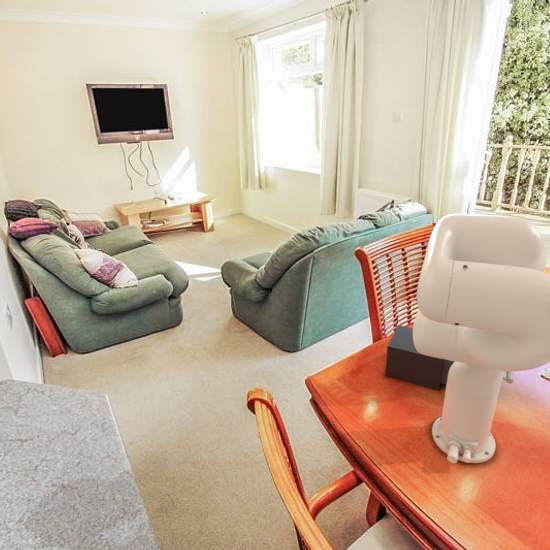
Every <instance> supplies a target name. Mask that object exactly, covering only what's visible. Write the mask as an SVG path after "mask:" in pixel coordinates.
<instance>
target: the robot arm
mask: <svg viewBox="0 0 550 550" xmlns="http://www.w3.org/2000/svg"><path fill="white" fill-rule="evenodd" d="M544 241H545V240H544V236H543V234H542V232H541V231H540V229H539V228H538V227H537V226H536V225H535V224H533V223H532V222H531V221H529V220H527V219H524V218H521V217H516V216H511V215H508V216H507V215H495V214H494V215H493V214H491V215H490V214H471V213H470V214H469V213H451V214H447V215H445V216H443V217H441V219H440V220H439V221H438V222H437V223H436V225H435V226H434V228H433V230H432V232H431V234H430V236H429V239H428V242H427V246H426V249H425V255H424V258H423V263H422V267H421V270H420V275H419V279H418V283H417V290H416V303H417V308H418V310H417V312H416V313H415V317H414V321H413V325H412V328H413V342H414V346H415V348H416V350H417V351H418V352H419V353H420V354H423V355H427V356H431V357H436V358H441V359H446V360H451V361H455V362H454V363H453V364H452V366H451V367H450V369H449V372H448V378H447V385H445V392H444V398H443V406H442V410H441V411H442V412H441V416H440V417H438V418H437V419H436V420H434V422H433V424H432V426H431V436H432V439H433V441H434V443H435V444H436V446H437V447H438V448H439V449H440V450H441V451H442V452H443V453H445V454H446V455H447V456H446V460H447V461H448V463H450V464H454V465H455V464H457V463H458V461H460V462H463V463H466V464H480V463H485V462H487V461H489V460H490V459H491V458H492V457H493V456H494V454H495V452H496V447H497V445H496V440H495V437H494V436H493V434H492V433H491V429H492V425H493V421H494V417H495V413H496V408H497V404H498V400H499V395H500V391H501V386H502V383H503V380H502V379H503V377H504V375H505V372H506V371H513V372H524V371H530V370H533V369H538V368H540V367H543V366H545V365H547V364H549V363H550V273H549V272H545V268H546V264H547V254H546V248H545V242H544Z"/></svg>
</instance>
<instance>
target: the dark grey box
mask: <svg viewBox="0 0 550 550" xmlns="http://www.w3.org/2000/svg"><path fill="white" fill-rule="evenodd" d="M442 364H443V359H441V358H436V357H431V356H427V355H423V354H420V353H419V352H418V351H417V350H416V348H415V346H414V342H413V327H409V326H404V325H400V324H397V327H396V329H395V330H394V332H393V334H392V336H391V338H390V340H389V342H388V344H387V348H386V362H385V377H389V378H392V379H393V378H394V379H397V380H400V381H404V382H407V383H410V384H415V385H417V386H422V387H424V388H429V389H432V390H435V391H439V390H440V386H441V383H440V378H441V371H442Z"/></svg>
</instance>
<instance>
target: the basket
mask: <svg viewBox="0 0 550 550" xmlns="http://www.w3.org/2000/svg"><path fill="white" fill-rule="evenodd" d="M454 362H455V361H451V360H446V359H443V364H442V371H441V378H440V385H445V386H446V385H447V378H448V372H449V369H450V367H451V366H452V364H453V363H454ZM505 372H506V374H505V376H503V379H502V381H506V383H508V384H512V383H513V382H514V371H505Z"/></svg>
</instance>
